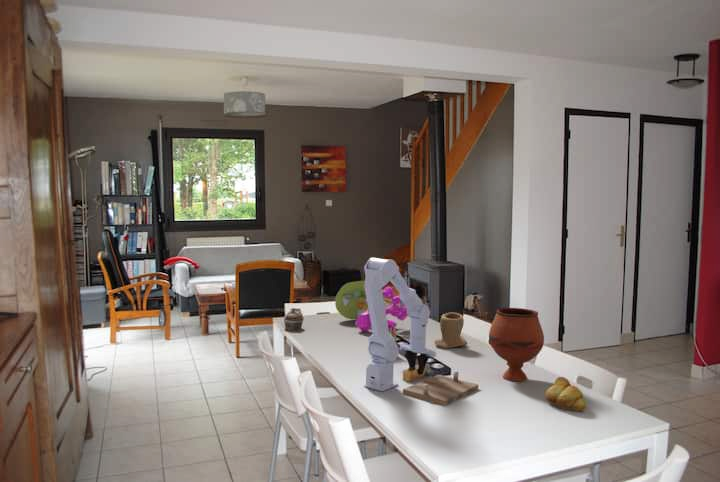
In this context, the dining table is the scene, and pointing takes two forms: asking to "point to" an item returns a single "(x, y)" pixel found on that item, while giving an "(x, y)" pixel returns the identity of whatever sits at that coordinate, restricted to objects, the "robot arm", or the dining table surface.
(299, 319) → the cupcake
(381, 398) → the dining table surface
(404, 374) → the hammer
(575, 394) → the bread roll
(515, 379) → the goblet
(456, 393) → the walnut board
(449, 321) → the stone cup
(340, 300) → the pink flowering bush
